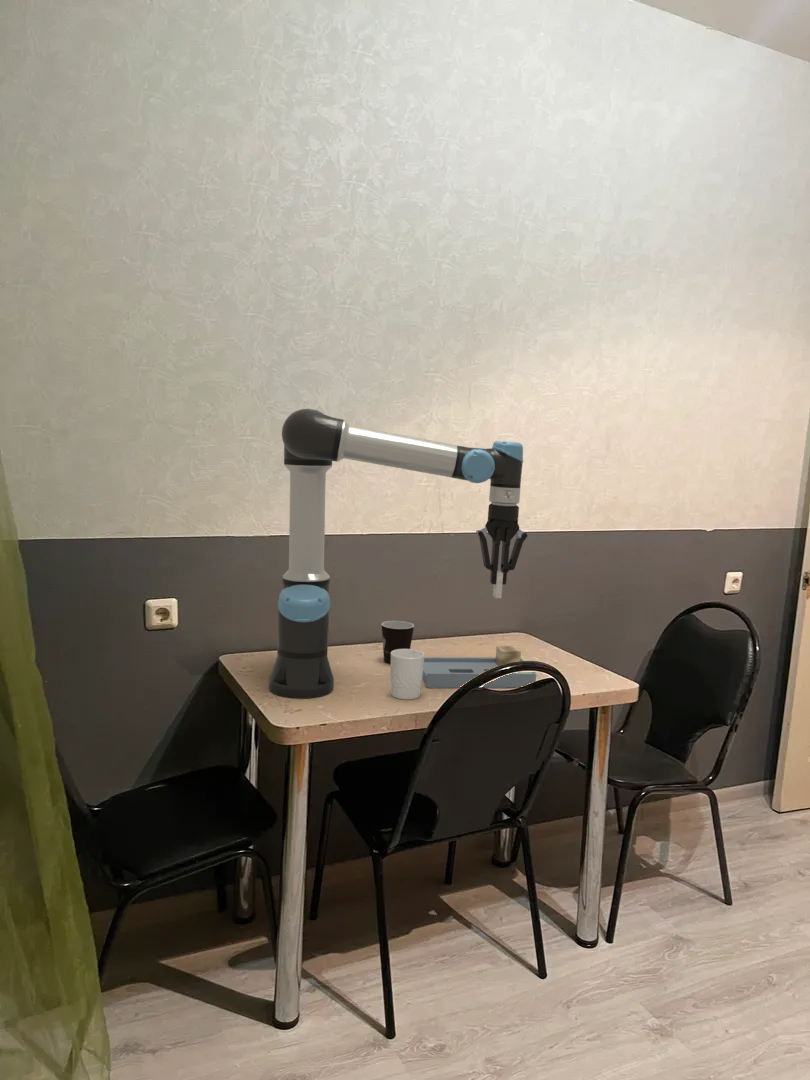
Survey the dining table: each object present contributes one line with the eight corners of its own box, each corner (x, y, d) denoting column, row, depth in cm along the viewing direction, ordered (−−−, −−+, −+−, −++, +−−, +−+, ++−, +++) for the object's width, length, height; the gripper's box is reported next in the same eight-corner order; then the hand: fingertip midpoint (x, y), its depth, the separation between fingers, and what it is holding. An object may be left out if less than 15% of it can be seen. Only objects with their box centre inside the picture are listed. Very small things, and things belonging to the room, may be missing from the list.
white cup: (410, 687, 194) (412, 647, 192) (429, 697, 187) (431, 656, 186) (382, 692, 190) (384, 650, 188) (400, 702, 183) (402, 660, 182)
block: (500, 668, 204) (501, 651, 204) (495, 662, 209) (496, 645, 209) (519, 668, 205) (520, 651, 204) (514, 662, 210) (515, 646, 209)
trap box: (427, 687, 194) (428, 669, 194) (417, 670, 208) (418, 653, 207) (535, 687, 198) (536, 670, 198) (518, 670, 212) (520, 653, 211)
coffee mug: (408, 667, 210) (410, 630, 208) (376, 664, 211) (378, 627, 210) (417, 655, 221) (418, 620, 220) (386, 652, 223) (388, 617, 221)
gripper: (482, 504, 196) (475, 599, 199) (533, 506, 198) (526, 600, 201) (474, 501, 203) (468, 593, 207) (524, 503, 205) (517, 594, 209)
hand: (497, 596), depth 204 cm, fingers closed
